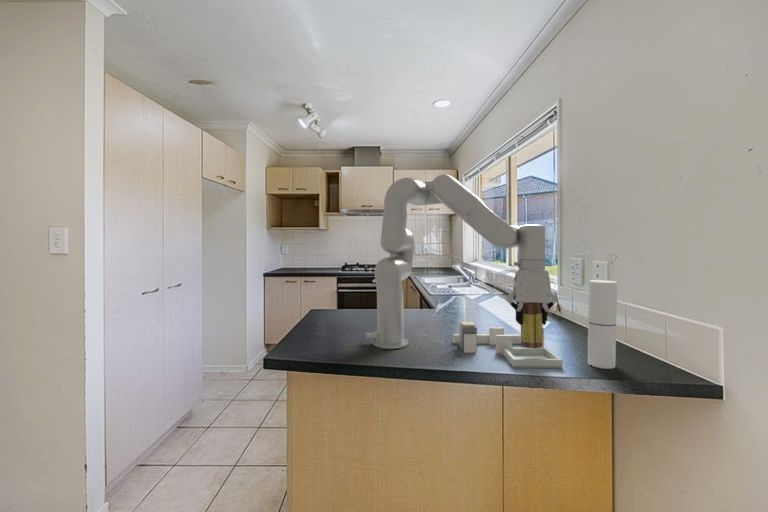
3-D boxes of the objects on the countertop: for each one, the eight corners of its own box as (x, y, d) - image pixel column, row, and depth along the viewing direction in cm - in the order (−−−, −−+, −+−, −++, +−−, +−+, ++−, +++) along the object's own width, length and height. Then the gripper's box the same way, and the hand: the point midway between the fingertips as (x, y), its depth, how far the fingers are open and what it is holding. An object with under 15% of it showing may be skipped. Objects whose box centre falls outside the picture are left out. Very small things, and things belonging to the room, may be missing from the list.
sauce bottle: (538, 343, 115) (540, 280, 114) (545, 349, 108) (546, 283, 108) (517, 342, 115) (518, 280, 114) (522, 348, 109) (524, 282, 108)
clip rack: (459, 355, 119) (459, 328, 118) (453, 342, 134) (453, 318, 134) (553, 356, 117) (554, 329, 116) (536, 342, 132) (536, 318, 132)
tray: (513, 367, 106) (513, 359, 106) (502, 355, 118) (502, 347, 118) (562, 368, 106) (562, 360, 106) (546, 355, 118) (546, 347, 118)
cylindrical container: (584, 364, 109) (585, 281, 108) (591, 358, 114) (593, 279, 113) (611, 370, 104) (613, 283, 103) (618, 364, 109) (619, 281, 108)
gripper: (506, 266, 108) (505, 326, 108) (566, 265, 107) (565, 326, 107) (499, 264, 115) (499, 320, 116) (555, 264, 114) (555, 321, 115)
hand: (531, 323), depth 112 cm, fingers closed on sauce bottle, 6 cm apart
